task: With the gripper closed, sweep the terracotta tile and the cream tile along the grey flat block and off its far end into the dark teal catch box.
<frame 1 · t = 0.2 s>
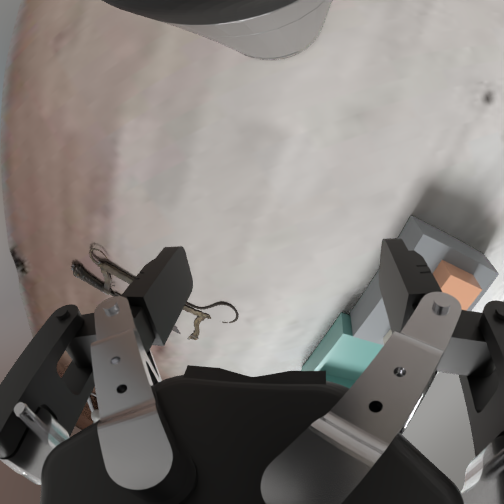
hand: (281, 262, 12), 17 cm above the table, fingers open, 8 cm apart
terracotta tile: (445, 286, 26), point 4 cm above the table, touching grey flat block
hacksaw: (149, 287, 39), on the table
grey flat block: (419, 284, 31), on the table
catch box: (364, 354, 39), on the table
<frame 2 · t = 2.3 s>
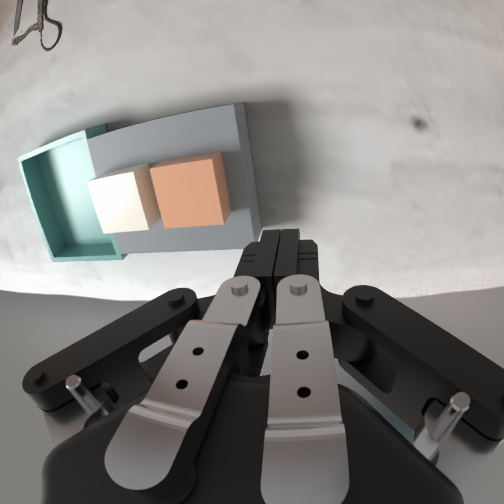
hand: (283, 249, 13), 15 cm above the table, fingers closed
terracotta tile: (197, 185, 24), point 4 cm above the table, touching grey flat block
cream tile: (131, 194, 25), point 4 cm above the table, touching grey flat block
grey flat block: (181, 176, 28), on the table
catch box: (81, 193, 31), on the table
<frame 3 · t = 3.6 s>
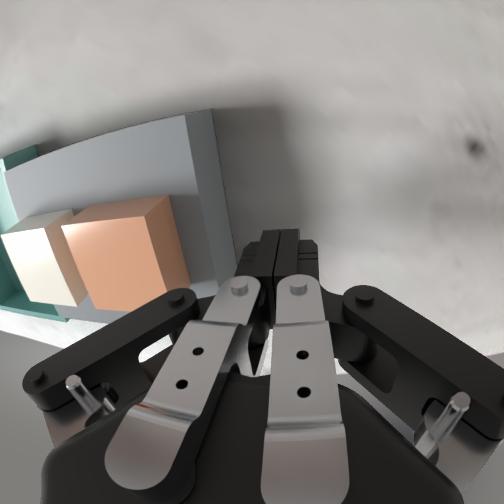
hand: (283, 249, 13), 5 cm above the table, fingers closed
terracotta tile: (138, 244, 15), point 4 cm above the table, touching grey flat block
cream tile: (58, 249, 17), point 4 cm above the table, touching grey flat block
grey flat block: (128, 218, 19), on the table
catch box: (21, 232, 22), on the table
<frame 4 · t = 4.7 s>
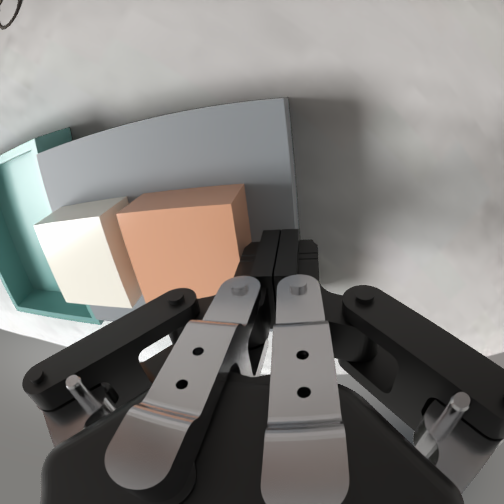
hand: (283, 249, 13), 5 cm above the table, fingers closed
terracotta tile: (199, 237, 15), point 4 cm above the table, touching gripper, grey flat block
cream tile: (103, 242, 16), point 4 cm above the table, touching grey flat block
grey flat block: (182, 210, 18), on the table
catch box: (44, 225, 21), on the table
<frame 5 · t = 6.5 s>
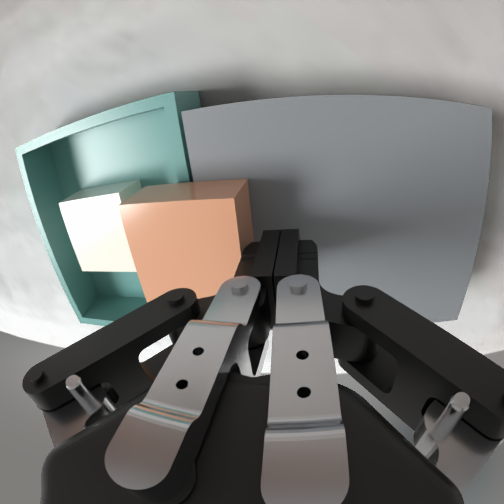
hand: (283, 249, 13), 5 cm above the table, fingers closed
terracotta tile: (201, 232, 14), point 4 cm above the table, touching gripper, grey flat block
cream tile: (97, 236, 17), point 3 cm above the table, tilted 180°, touching catch box
grey flat block: (343, 200, 17), on the table
catch box: (133, 215, 19), on the table
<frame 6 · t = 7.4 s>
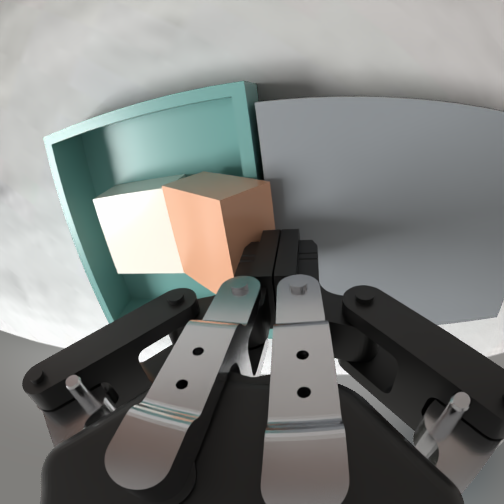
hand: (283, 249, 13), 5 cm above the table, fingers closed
terracotta tile: (239, 224, 15), point 3 cm above the table, tilted 40°, touching catch box, cream tile, gripper
cream tile: (138, 235, 16), point 3 cm above the table, tilted 180°, touching catch box, terracotta tile
grey flat block: (397, 201, 16), on the table
catch box: (175, 212, 19), on the table
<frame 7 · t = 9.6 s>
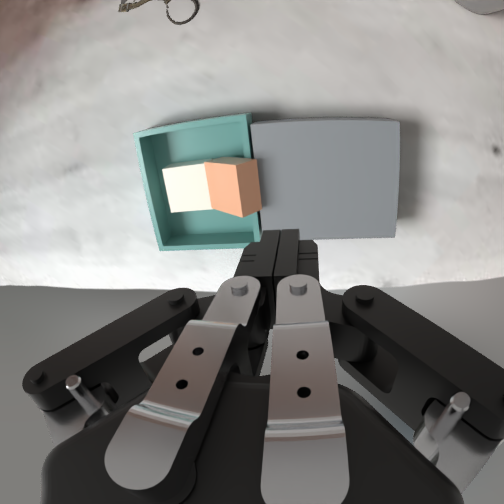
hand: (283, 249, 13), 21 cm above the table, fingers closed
terracotta tile: (242, 181, 30), point 3 cm above the table, tilted 39°, touching catch box, cream tile
cream tile: (187, 188, 31), point 3 cm above the table, tilted 180°, touching catch box, terracotta tile
grey flat block: (326, 172, 31), on the table
catch box: (205, 180, 34), on the table
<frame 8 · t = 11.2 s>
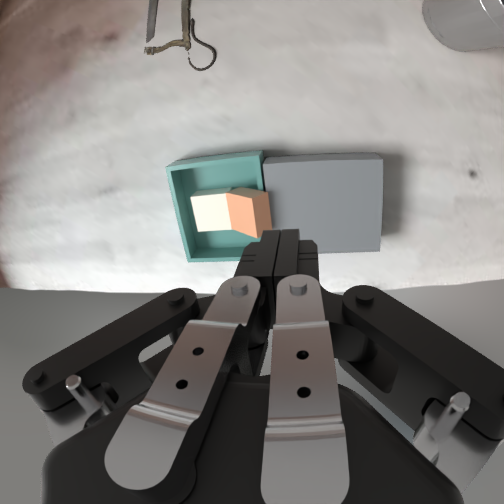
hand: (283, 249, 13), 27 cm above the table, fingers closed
terracotta tile: (256, 208, 38), point 3 cm above the table, tilted 39°, touching catch box, cream tile
cream tile: (211, 213, 39), point 3 cm above the table, tilted 180°, touching catch box, terracotta tile
grey flat block: (324, 198, 39), on the table
catch box: (225, 204, 42), on the table
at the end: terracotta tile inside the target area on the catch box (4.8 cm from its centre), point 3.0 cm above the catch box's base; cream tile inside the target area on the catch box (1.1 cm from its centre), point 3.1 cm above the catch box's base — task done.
